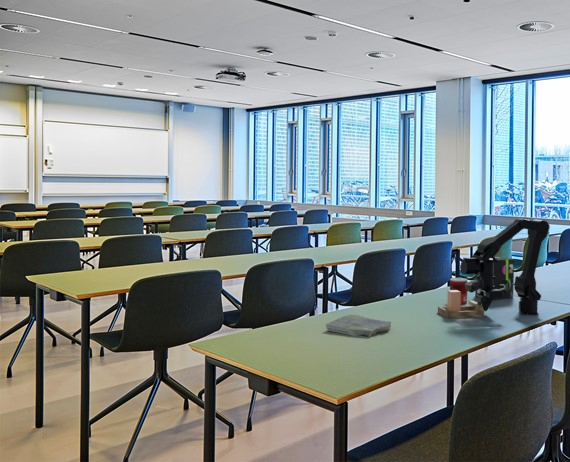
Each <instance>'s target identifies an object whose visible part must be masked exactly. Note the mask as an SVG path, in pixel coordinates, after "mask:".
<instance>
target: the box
mask: <svg viewBox="0 0 570 462" xmlns="http://www.w3.org/2000/svg"><path fill="white" fill-rule="evenodd" d="M494 257H495V258H496V259H497V260H498V261H499V262H498V263H494V270H493V276H495V279H493V286H495V289H499V290H502V291H503V292H504V297H503V298H494V299H493V301H496V300H503V299H504V300H505V299H512V298H514V287H515V286H514V283H515V259H514V258H508V257H503V256H494ZM477 275H479V272H478V273H477V274H475V277H476V276H477ZM475 293H477V290H476V291H474V294H475ZM475 297H478V298H480V297H479V296H478V295H476V294H475Z"/></svg>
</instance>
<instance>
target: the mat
mask: <svg viewBox="0 0 570 462" xmlns="http://www.w3.org/2000/svg"><path fill="white" fill-rule="evenodd" d="M451 320H452V321H454V322H456V323H457V324H458V325H460V326H475V325H487V323H486V322H484V321H482V320H480V319H478V318H477V317H472V318H451Z"/></svg>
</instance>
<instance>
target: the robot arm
mask: <svg viewBox="0 0 570 462" xmlns="http://www.w3.org/2000/svg"><path fill="white" fill-rule="evenodd" d="M523 230H527V236H528V244H527V249H526V254H525V258H524V262H523V266H522V272H521V274H520V275H519V276H518V275H516V276H514V286H513V290H514V291H515V292H516V295H517V297H518V298H520V300H519V301H518V312H519V313H520V314H522V315H535V316H536V315H539V314H540V313H538V302H539V301H541V299H542V294H540V292H539V291H538V290H537V280H536V278H535V276H536V275H535V273H536V269H537V265H538V261H539V256H540V253H541V252H540V251H541V247H542V243H543V241H544V240H545V239H546V238H547V236H548V233H549V231H550V224H549V223H548V221H547V220H544V219H543V220H542V219H531V220H528V219H525V218H516V219H514V221H513V222H512V223H510V224H508V226H506V227H505V228H504V229H502V230H501V231H500V232H499V233H497V234H496V235H495V236H494V237H492V238H489V239H485V240H484V241H482V242H481V243H479V244H478V245H477V246H476V250H475V252H473V254H472V255H471V257H463V258H462V260H461V262H460V265H459V269H460V272H461V275H475V279H472V280H470V281H467V283H465V287H466V290H467V292H469V293H472V294H473V293H474V294H476V295H478V296H479V297H478V298H479V300H480V302H481V304H482V306H483V310H484V312H487V311H488V310H489V309H490V308H489V307H490V306H491V304H492V303H493V301H494V300H493V299H494V298H503V297H504V292H503V291H502V290H499V289H495V286H493V279H495V276H493V270H494V263H498V262H499V261H498V260H497V259H496V258H495V257H496V255H497V254H498V253H499V252H500V250H501V248H502V246H503V245H505V244H506V243H507V242H509V241H510V240H511V239H512V238H514V237H515V236H516V235H518V234H519V233H520V232H521V231H523ZM478 272H479V275H477V276H476V274H477V273H478ZM476 290H477V293H475V291H476Z"/></svg>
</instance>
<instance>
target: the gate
mask: <svg viewBox="0 0 570 462" xmlns="http://www.w3.org/2000/svg"><path fill="white" fill-rule="evenodd" d="M472 305H473V306H474V311H475V310H483V306H482V303H481V301H474V300H468V304H467V306H472Z"/></svg>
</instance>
